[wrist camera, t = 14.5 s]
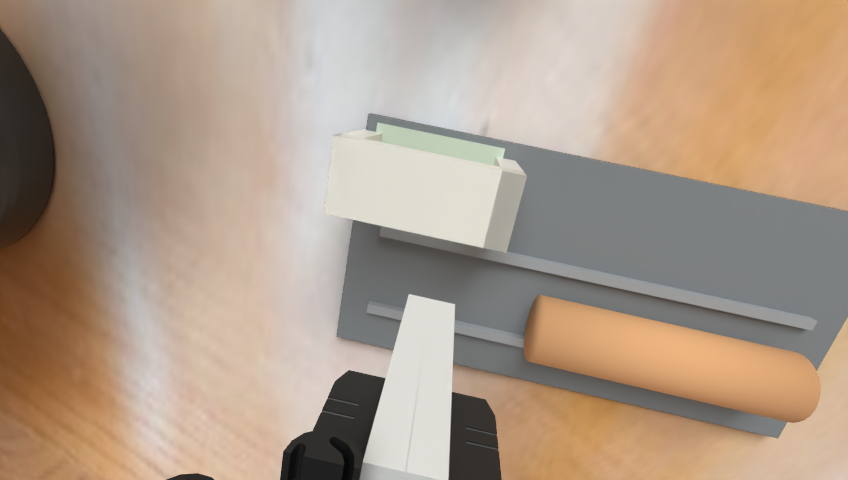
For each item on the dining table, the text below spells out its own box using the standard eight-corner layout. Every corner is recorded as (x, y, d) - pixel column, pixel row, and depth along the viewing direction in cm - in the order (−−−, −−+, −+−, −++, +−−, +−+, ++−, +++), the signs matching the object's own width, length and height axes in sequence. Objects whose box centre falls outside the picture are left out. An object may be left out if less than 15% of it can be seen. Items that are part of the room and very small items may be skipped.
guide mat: (339, 331, 24) (334, 340, 23) (371, 113, 20) (366, 113, 19) (770, 430, 23) (783, 444, 22) (888, 219, 19) (910, 225, 18)
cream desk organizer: (363, 129, 20) (332, 135, 16) (515, 160, 20) (527, 176, 15) (354, 191, 21) (323, 213, 17) (499, 222, 20) (506, 253, 16)
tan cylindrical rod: (524, 319, 23) (523, 374, 20) (543, 281, 20) (545, 337, 18) (753, 371, 22) (778, 433, 20) (799, 338, 20) (833, 403, 17)
